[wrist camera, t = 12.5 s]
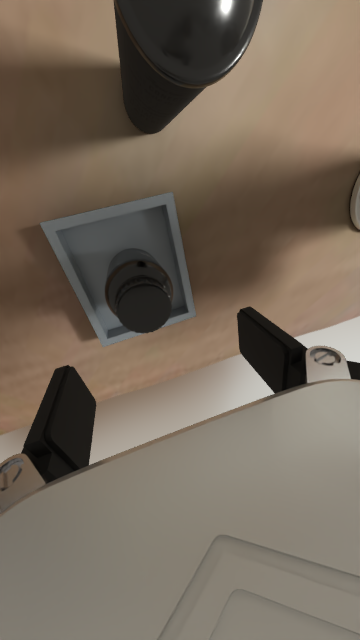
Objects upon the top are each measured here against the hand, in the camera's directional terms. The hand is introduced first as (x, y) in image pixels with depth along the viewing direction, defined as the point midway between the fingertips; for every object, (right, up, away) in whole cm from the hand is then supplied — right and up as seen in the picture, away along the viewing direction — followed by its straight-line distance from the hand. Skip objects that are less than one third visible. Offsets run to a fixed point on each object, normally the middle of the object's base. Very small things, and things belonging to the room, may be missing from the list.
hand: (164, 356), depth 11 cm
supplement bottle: (-5, +8, +16) cm, 19 cm away
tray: (-6, +8, +16) cm, 19 cm away
